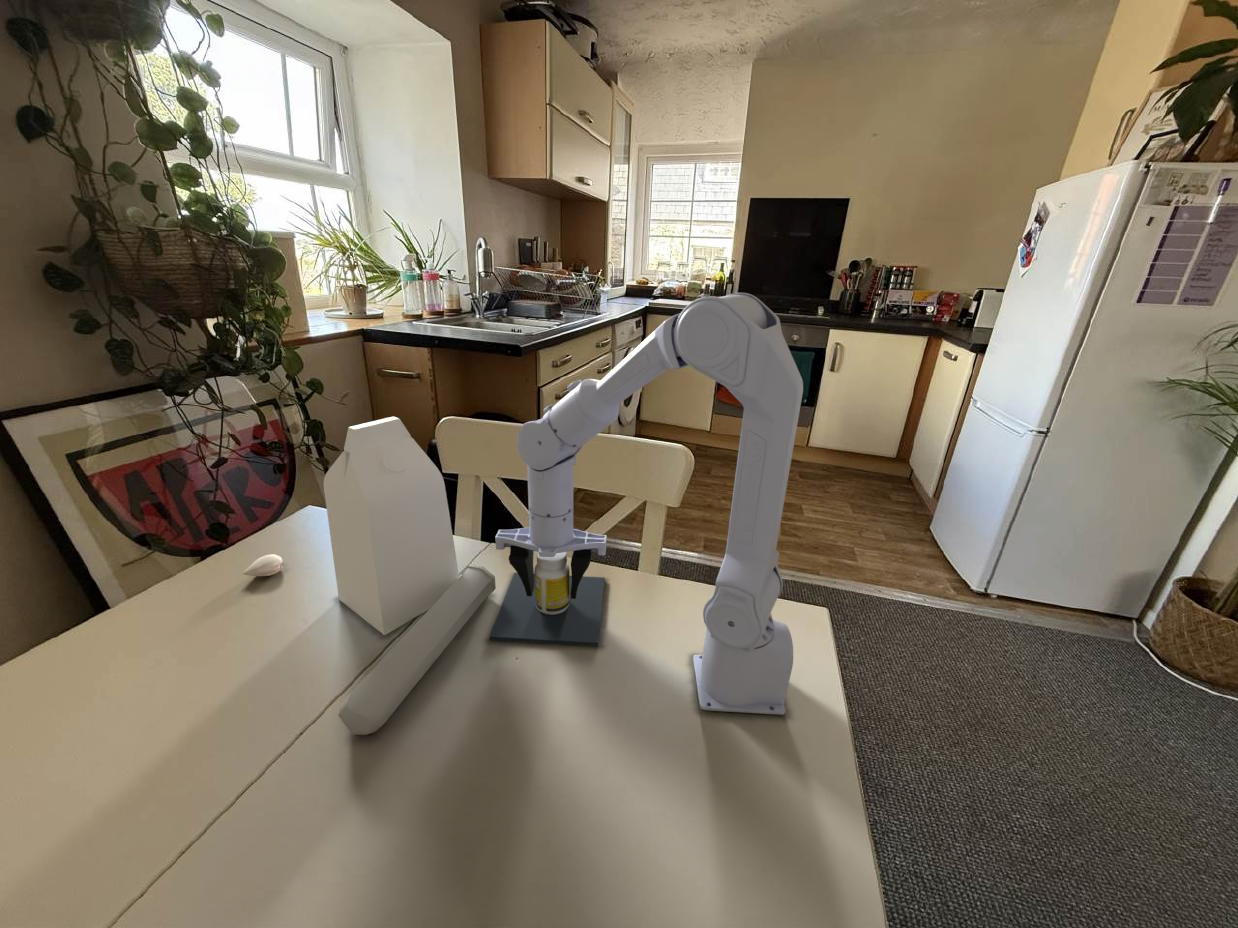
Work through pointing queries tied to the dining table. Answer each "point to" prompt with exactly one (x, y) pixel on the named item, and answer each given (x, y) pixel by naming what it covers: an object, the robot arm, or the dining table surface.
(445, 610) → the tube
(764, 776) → the dining table surface
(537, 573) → the supplement bottle
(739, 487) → the robot arm
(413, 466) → the milk
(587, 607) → the mat
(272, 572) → the white garlic clove
